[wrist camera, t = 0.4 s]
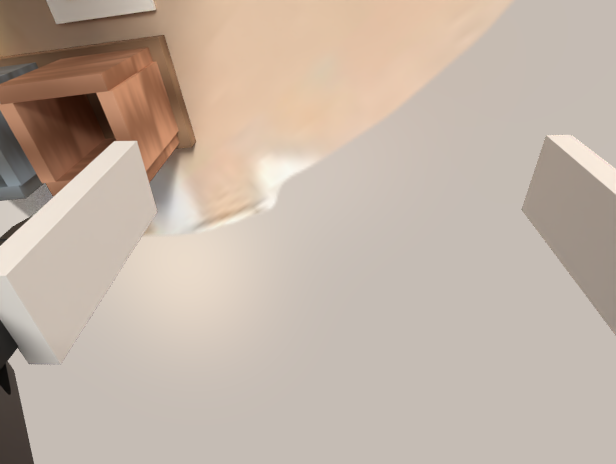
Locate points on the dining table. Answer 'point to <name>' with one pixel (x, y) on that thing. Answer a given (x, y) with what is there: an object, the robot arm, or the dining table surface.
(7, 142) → the desk organizer
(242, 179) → the dining table surface
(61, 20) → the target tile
